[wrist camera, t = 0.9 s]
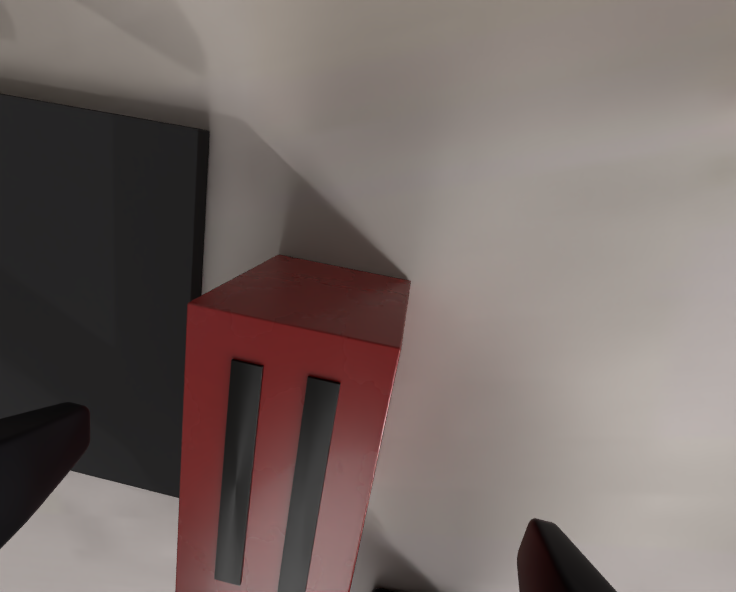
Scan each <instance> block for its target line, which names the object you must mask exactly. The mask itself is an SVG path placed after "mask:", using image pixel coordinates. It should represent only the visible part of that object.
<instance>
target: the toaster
mask: <svg viewBox="0 0 736 592" xmlns="http://www.w3.org/2000/svg"><path fill="white" fill-rule="evenodd" d="M410 284H411V281H409V280H404V279H399V278H394V277H389V276H384V275H379V274H373V273H368V272H363V271H358V270H353V269H348V268H343V267H338V266H333V265H328V264H323V263H318V262H313V261H308V260H303V259H298V258H293V257H288V256H283V255H277V256H275V257H273V258H271V259H269V260H267V261H265V262H263V263H262V264H260V265H258V266H256V267H254V268H252V269H250V270H248V271H247V272H245V273H243V274H241V275H239V276H237V277H235V278H234V279H232V280H230V281H228V282H226V283H224V284H222V285H220V286H219V287H217V288H215V289H213V290H211V291H209V292H207V293H205V294H204V295H202V296H200V297H198V298H196V299H194V300H192V301H190V302H189V303H188V304H187V326H186V350H185V374H184V398H183V422H182V446H181V470H180V494H179V519H178V543H177V567H176V591H175V592H350V588H351V583H352V578H353V574H354V569H355V564H356V559H357V555H358V550H359V545H360V541H361V536H362V531H363V526H364V522H365V517H366V512H367V508H368V503H369V498H370V493H371V489H372V484H373V479H374V475H375V470H376V465H377V460H378V456H379V451H380V446H381V441H382V437H383V432H384V427H385V423H386V418H387V413H388V408H389V404H390V399H391V394H392V390H393V385H394V380H395V375H396V371H397V366H398V361H399V357H400V352H401V346H402V339H403V332H404V326H405V319H406V312H407V305H408V298H409V291H410Z"/></svg>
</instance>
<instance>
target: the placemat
mask: <svg viewBox="0 0 736 592" xmlns="http://www.w3.org/2000/svg"><path fill="white" fill-rule="evenodd" d="M208 148H209V131H207V130H202V129H197V128H191V127H186V126H180V125H174V124H169V123H163V122H157V121H152V120H146V119H140V118H135V117H129V116H124V115H118V114H112V113H107V112H101V111H95V110H90V109H84V108H78V107H73V106H67V105H61V104H56V103H50V102H44V101H39V100H33V99H28V98H22V97H16V96H11V95H5V94H0V419H1V418H5V417H9V416H13V415H17V414H21V413H25V412H29V411H33V410H36V409H40V408H44V407H48V406H52V405H56V404H60V403H64V402H72V403H76V404H80V405H84V406H86V407H87V408H88V409H89V411H90V443H89V446H88V448H87V450H86V452H85V453H84V455H83V456H82V457H81V458H80V459H79V460H78V462H77V463H76V464H75V465H74V466H73V468H72V469H71V471H75V472H79V473H82V474H86V475H90V476H94V477H98V478H102V479H106V480H110V481H114V482H118V483H122V484H126V485H130V486H134V487H138V488H142V489H146V490H150V491H154V492H158V493H162V494H166V495H169V496H173V497H177V498H179V494H180V470H181V446H182V422H183V398H184V374H185V350H186V326H187V304H188V303H189V302H190V301H192V300H194V299H196V298H198V297H200V296H201V284H202V264H203V245H204V226H205V206H206V187H207V167H208Z"/></svg>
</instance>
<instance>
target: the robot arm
mask: <svg viewBox="0 0 736 592" xmlns="http://www.w3.org/2000/svg"><path fill="white" fill-rule="evenodd" d="M89 443H90V411H89V409H88V408H87V407H86V406H84V405H80V404H76V403H72V402H64V403H60V404H56V405H52V406H48V407H44V408H40V409H36V410H33V411H29V412H25V413H21V414H17V415H13V416H9V417H5V418H1V419H0V549H1V548H2V547H3V546H4V545H5V544H6V543H7V542H8V541H9V540H10V539H11V538H12V537H13V535H14V534H15V533H16V532H17V531H18V530H19V529H20V528H21V527H22V526H23V525H24V524H25V523H26V522H27V521H28V520H29V519H30V517H31V516H32V515H33V514H34V513H35V512H36V511H37V509H38V508H39V507H40V506H41V505H42V504H43V502H44V501H45V500H46V499H47V498H48V496H49V495H50V494H51V493H52V492H53V490H54V489H55V488H56V487H57V486H58V484H59V483H60V482H61V481H62V480H63V478H64V477H65V476H66V475H67V474H68V472H69V471H70V470H71V469H72V468H73V466H74V465H75V464H76V463H77V462H78V460H79V459H80V458H81V457H82V456H83V455H84V453H85V452H86V450H87V448H88V446H89ZM517 569H518V580H519V591H520V592H617V591H616V590H615V589H614V588H613V587H612V586H611V585H610V584H609V583H608V581H607V580H606V579H605V578H604V577H603V576H602V575H601V574H600V573H599V571H598V570H597V569H596V568H595V567H594V566H593V565H592V564H591V563H590V562H589V560H588V559H587V558H586V557H585V556H584V555H583V554H582V553H581V552H580V550H579V549H578V548H577V547H576V546H575V545H574V544H573V543H572V542H571V541H570V539H569V538H568V537H567V536H566V535H565V534H564V533H563V532H562V531H561V529H560V528H559V527H558V526H557V525H556V524H554V523H552V522H548V521H544V520H540V519H536V518H534V519H531V520H530V522H529V524H528V526H527V529H526V531H525V534H524V537H523V539H522V542H521V545H520V548H519V550H518V555H517ZM372 592H393V591H389V590H385V589H382V588H377V589H374V590H373V591H372Z"/></svg>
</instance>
